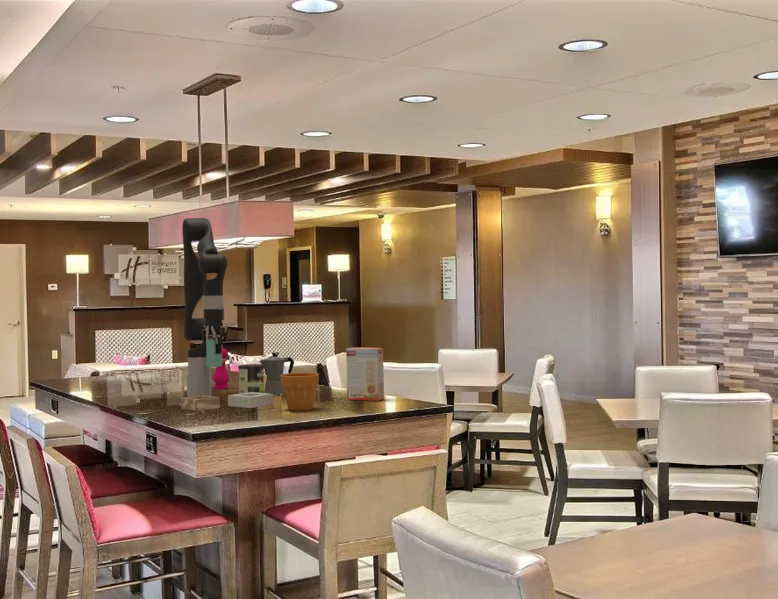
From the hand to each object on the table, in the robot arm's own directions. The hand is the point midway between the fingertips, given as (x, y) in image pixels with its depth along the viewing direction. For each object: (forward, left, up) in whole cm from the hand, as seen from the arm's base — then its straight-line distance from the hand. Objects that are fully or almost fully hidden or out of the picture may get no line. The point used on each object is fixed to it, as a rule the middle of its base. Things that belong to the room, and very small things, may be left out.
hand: (214, 353), depth 340 cm
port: (+7, +11, -21) cm, 25 cm away
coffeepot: (-14, +47, -21) cm, 54 cm away
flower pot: (+26, +18, -21) cm, 38 cm away
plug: (0, 0, -5) cm, 5 cm away
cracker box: (+30, +52, -21) cm, 64 cm away
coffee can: (-11, +29, -21) cm, 38 cm away
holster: (-3, -5, -21) cm, 22 cm away
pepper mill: (-53, +51, -21) cm, 77 cm away
